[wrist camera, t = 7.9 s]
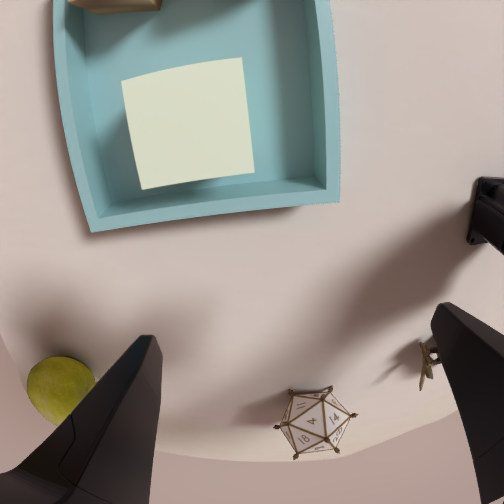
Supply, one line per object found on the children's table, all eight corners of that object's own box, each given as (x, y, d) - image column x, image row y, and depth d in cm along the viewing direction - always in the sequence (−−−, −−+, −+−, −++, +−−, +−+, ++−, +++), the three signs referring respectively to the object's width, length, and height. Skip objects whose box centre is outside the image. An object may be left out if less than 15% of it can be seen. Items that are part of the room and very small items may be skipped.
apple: (119, 389, 29) (106, 447, 22) (58, 378, 28) (40, 429, 21) (98, 347, 25) (76, 413, 18) (32, 337, 24) (5, 391, 18)
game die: (299, 362, 33) (327, 388, 23) (347, 393, 33) (384, 422, 23) (254, 416, 32) (265, 458, 22) (305, 444, 32) (329, 485, 22)
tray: (300, -69, 9) (311, -90, 6) (324, 185, 18) (339, 202, 16) (77, -31, 9) (56, -43, 6) (108, 212, 18) (91, 232, 16)
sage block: (238, 68, 14) (241, 57, 10) (248, 150, 16) (254, 172, 12) (151, 83, 14) (121, 81, 10) (165, 163, 16) (142, 189, 12)
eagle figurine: (407, 378, 30) (462, 370, 29) (429, 401, 23) (489, 387, 22) (414, 321, 31) (470, 315, 29) (440, 333, 24) (501, 324, 22)
